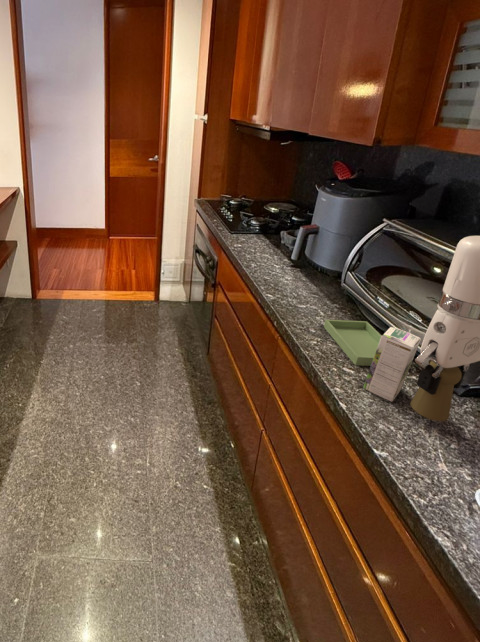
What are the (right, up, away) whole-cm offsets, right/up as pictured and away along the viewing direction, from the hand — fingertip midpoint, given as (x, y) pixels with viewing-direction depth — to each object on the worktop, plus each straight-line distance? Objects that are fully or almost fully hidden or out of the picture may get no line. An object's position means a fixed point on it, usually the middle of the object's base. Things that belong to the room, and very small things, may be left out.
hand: (437, 385), depth 76 cm
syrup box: (-3, -5, +11) cm, 13 cm away
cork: (0, -6, +2) cm, 6 cm away
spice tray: (+3, +2, +27) cm, 27 cm away
